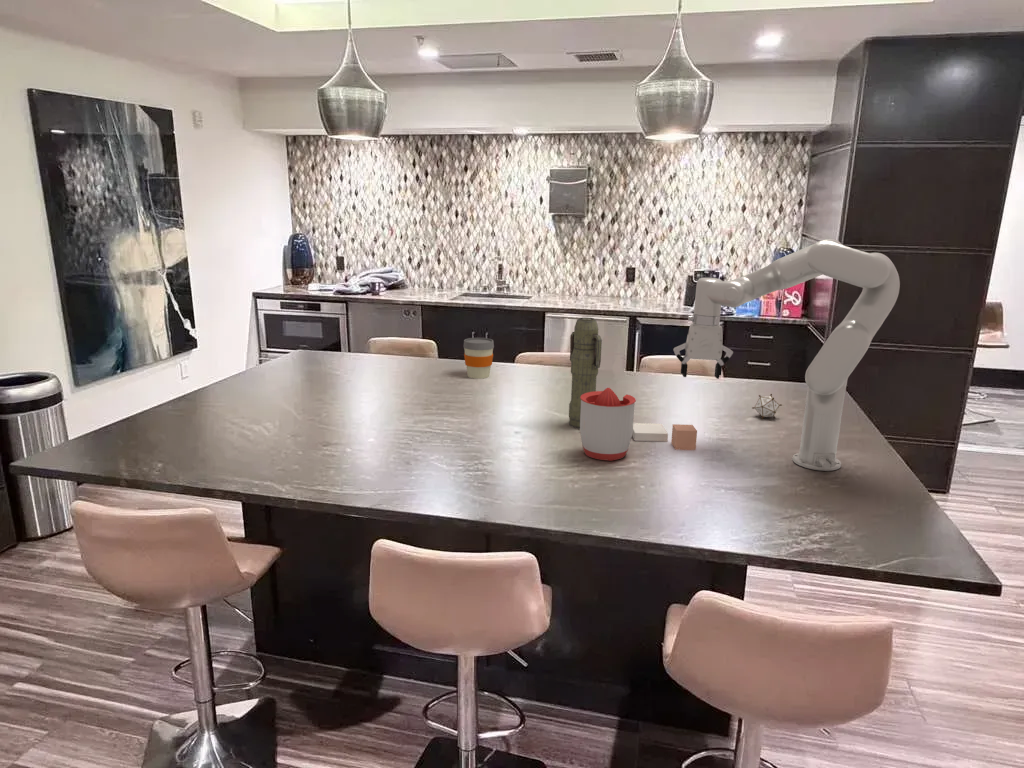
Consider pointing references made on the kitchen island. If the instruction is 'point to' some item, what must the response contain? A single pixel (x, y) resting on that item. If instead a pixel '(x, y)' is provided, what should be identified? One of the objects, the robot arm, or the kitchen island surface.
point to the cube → (684, 437)
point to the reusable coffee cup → (478, 357)
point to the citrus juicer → (606, 424)
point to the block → (649, 432)
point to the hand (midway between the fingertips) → (700, 376)
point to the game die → (766, 406)
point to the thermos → (583, 364)
